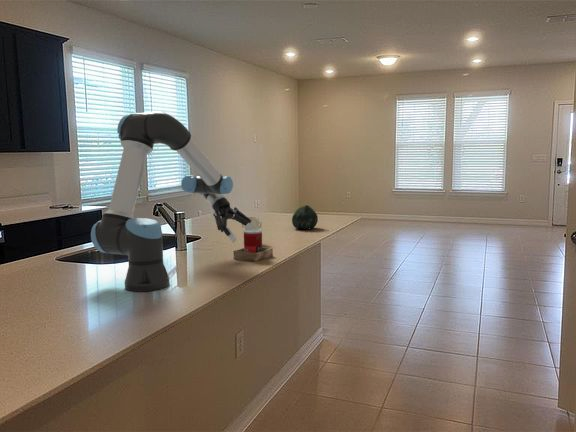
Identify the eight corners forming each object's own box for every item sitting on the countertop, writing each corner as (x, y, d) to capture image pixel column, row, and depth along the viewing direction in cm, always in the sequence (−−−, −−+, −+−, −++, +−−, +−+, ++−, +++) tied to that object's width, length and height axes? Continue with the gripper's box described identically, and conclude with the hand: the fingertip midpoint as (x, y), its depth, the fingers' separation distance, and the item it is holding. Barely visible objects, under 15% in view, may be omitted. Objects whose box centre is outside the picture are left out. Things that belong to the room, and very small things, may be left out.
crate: (255, 261, 208) (255, 253, 208) (233, 258, 215) (233, 250, 215) (272, 256, 218) (272, 248, 218) (251, 253, 225) (251, 245, 225)
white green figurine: (264, 242, 252) (264, 217, 250) (259, 245, 245) (259, 218, 243) (244, 241, 255) (243, 216, 253) (239, 244, 248) (238, 218, 247)
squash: (294, 217, 302) (292, 200, 291) (318, 218, 300) (318, 201, 289) (291, 235, 293) (289, 219, 282) (317, 236, 291) (316, 220, 280)
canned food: (260, 257, 212) (259, 232, 210) (242, 257, 213) (241, 232, 212) (264, 254, 219) (263, 229, 218) (247, 253, 221) (246, 229, 219)
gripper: (202, 199, 213) (230, 236, 206) (241, 194, 233) (267, 228, 226) (194, 211, 216) (221, 248, 210) (233, 205, 236) (258, 239, 230)
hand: (245, 238), depth 218 cm, fingers open, 13 cm apart
